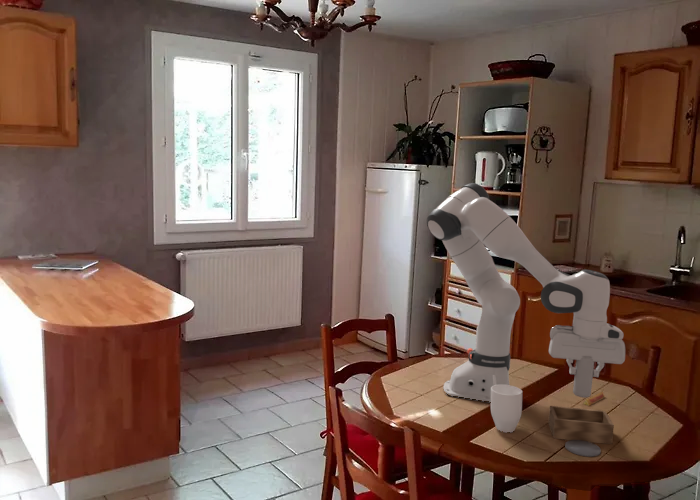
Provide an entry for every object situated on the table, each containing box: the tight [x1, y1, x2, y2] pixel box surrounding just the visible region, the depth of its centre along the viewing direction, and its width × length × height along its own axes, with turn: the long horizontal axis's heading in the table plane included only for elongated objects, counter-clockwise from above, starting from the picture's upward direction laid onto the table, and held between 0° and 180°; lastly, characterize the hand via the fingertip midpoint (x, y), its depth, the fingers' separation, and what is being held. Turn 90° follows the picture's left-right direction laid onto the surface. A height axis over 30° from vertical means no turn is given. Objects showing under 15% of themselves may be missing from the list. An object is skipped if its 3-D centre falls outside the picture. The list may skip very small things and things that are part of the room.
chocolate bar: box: [582, 391, 606, 407], centre depth 207 cm, size 3×12×2 cm, turn 134°
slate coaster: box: [564, 440, 602, 458], centre depth 170 cm, size 9×9×1 cm
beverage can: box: [572, 356, 595, 399], centre depth 178 cm, size 5×5×12 cm
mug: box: [490, 384, 523, 433], centre depth 182 cm, size 12×9×12 cm
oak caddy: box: [548, 405, 615, 445], centre depth 180 cm, size 16×11×6 cm
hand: (583, 375), depth 178 cm, fingers closed on beverage can, 5 cm apart
